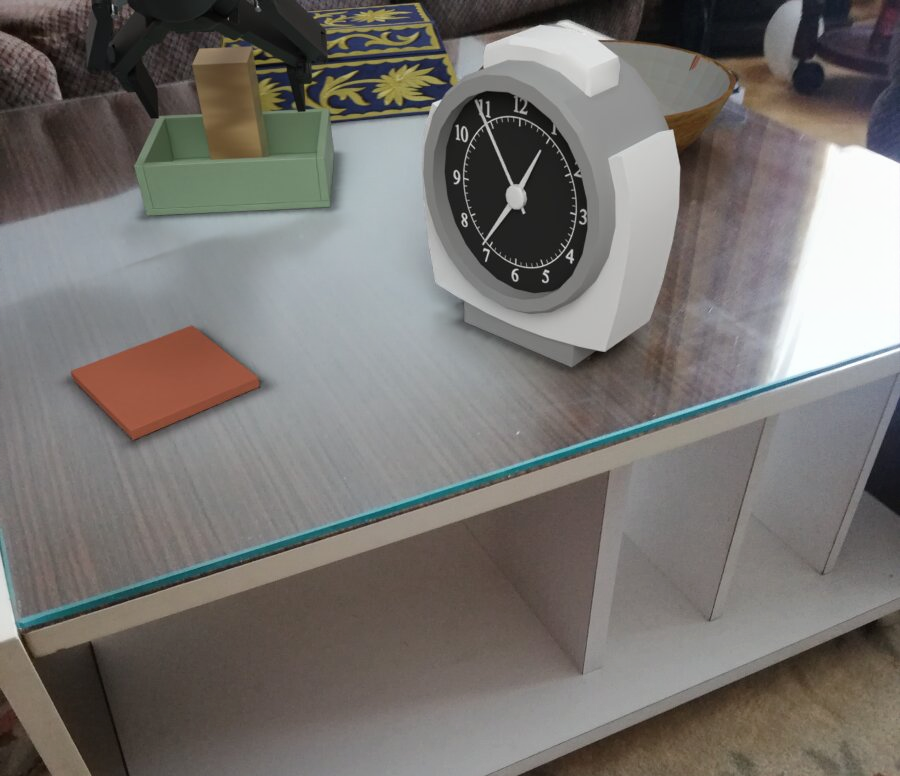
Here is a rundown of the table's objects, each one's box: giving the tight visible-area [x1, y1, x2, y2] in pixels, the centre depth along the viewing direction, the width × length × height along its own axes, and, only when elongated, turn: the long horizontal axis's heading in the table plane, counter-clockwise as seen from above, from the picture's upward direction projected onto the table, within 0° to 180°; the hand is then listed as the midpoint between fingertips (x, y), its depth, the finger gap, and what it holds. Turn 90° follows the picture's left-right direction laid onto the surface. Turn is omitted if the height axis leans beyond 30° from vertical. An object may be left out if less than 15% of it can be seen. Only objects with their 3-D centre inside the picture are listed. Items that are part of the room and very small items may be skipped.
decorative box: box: [218, 1, 459, 123], centre depth 105 cm, size 11×30×9 cm, turn 101°
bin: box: [133, 109, 335, 216], centre depth 91 cm, size 18×14×5 cm
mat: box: [70, 324, 260, 441], centre depth 67 cm, size 10×10×1 cm
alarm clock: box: [421, 24, 681, 368], centre depth 64 cm, size 18×8×20 cm, turn 48°
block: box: [191, 46, 269, 160], centre depth 89 cm, size 5×5×11 cm
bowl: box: [477, 39, 737, 155], centre depth 92 cm, size 25×25×8 cm
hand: (227, 101), depth 85 cm, fingers open, 13 cm apart
